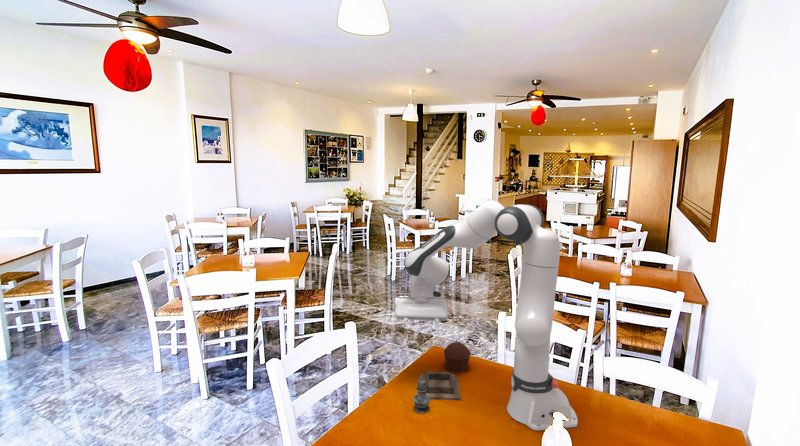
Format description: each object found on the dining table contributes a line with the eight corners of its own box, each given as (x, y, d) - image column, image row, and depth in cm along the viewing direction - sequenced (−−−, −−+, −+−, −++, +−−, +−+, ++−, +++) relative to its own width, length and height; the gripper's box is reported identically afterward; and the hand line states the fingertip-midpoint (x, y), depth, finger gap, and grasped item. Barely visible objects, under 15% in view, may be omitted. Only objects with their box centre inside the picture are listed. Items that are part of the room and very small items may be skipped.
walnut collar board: (457, 377, 156) (457, 369, 155) (460, 400, 141) (461, 391, 140) (419, 376, 157) (419, 368, 156) (419, 398, 142) (419, 389, 141)
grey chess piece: (428, 414, 133) (429, 382, 131) (411, 412, 134) (411, 380, 132) (430, 404, 139) (431, 372, 137) (414, 402, 140) (414, 371, 138)
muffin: (442, 359, 170) (442, 338, 169) (468, 360, 170) (468, 338, 168) (444, 374, 158) (445, 351, 157) (472, 375, 158) (472, 351, 156)
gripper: (394, 292, 151) (392, 326, 143) (447, 293, 150) (448, 328, 142) (395, 299, 156) (393, 332, 148) (446, 300, 155) (447, 334, 147)
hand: (421, 330), depth 145 cm, fingers open, 8 cm apart
